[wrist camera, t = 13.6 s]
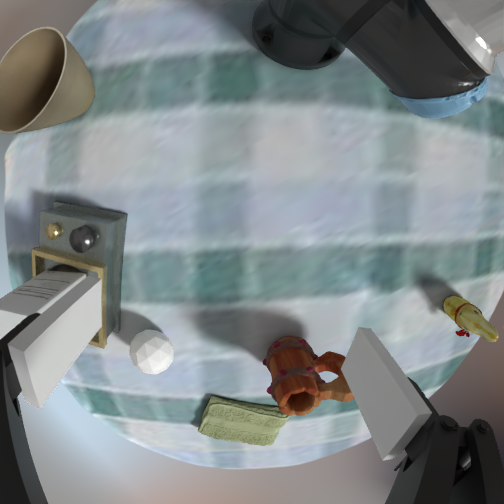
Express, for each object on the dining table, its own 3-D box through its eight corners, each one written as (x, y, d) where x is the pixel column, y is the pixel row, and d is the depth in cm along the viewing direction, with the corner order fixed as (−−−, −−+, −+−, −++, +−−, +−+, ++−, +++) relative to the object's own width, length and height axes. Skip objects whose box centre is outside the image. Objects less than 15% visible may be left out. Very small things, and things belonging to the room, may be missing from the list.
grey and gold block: (56, 200, 42) (29, 207, 34) (127, 214, 43) (106, 223, 35) (56, 310, 47) (35, 329, 39) (120, 330, 48) (104, 354, 41)
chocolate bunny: (445, 287, 49) (491, 318, 35) (471, 302, 51) (512, 332, 36) (429, 316, 51) (471, 353, 36) (456, 328, 52) (494, 362, 38)
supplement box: (96, 324, 41) (52, 380, 27) (54, 318, 41) (7, 364, 26) (87, 272, 39) (31, 316, 24) (44, 268, 38) (-14, 305, 24)
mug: (263, 369, 52) (270, 428, 37) (259, 333, 49) (266, 391, 35) (338, 358, 52) (364, 411, 37) (340, 322, 50) (371, 373, 35)
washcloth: (209, 391, 53) (207, 401, 50) (291, 406, 55) (293, 416, 52) (197, 427, 57) (195, 438, 54) (270, 440, 59) (271, 450, 56)
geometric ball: (167, 327, 52) (187, 344, 46) (155, 364, 51) (173, 385, 45) (131, 318, 47) (146, 335, 41) (119, 357, 46) (132, 379, 40)
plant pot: (37, 136, 38) (-23, 132, 23) (60, 59, 34) (8, 34, 19) (101, 144, 40) (44, 137, 24) (127, 59, 36) (83, 21, 21)
